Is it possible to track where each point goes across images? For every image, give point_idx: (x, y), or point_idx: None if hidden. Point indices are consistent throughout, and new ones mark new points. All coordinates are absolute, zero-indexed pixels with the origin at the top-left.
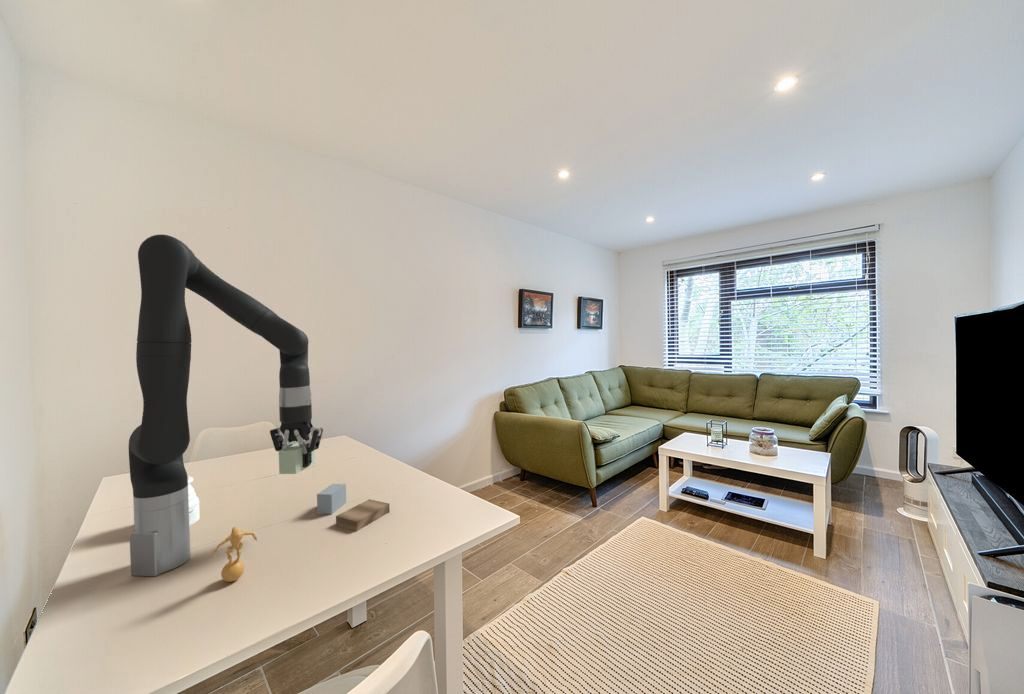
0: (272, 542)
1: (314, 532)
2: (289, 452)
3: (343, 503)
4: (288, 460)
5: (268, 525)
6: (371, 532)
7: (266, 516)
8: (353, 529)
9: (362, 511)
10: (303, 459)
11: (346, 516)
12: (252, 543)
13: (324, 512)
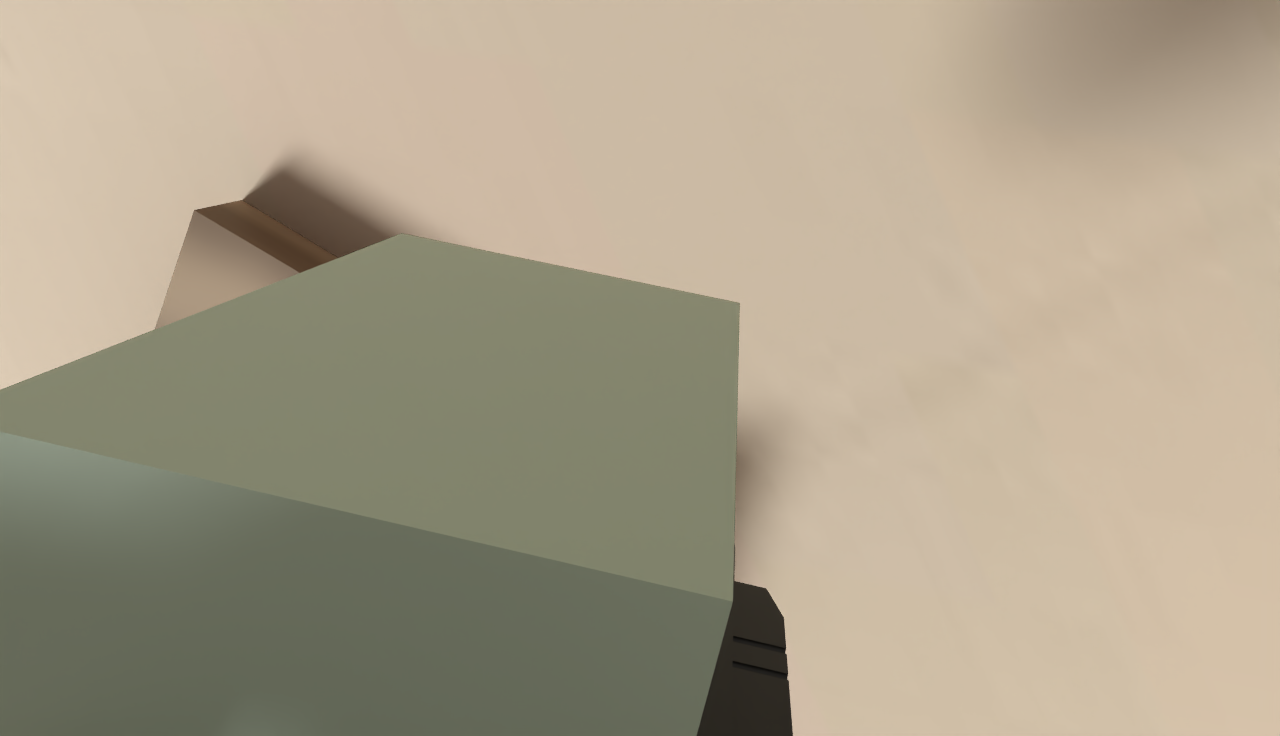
0: (783, 113)
1: (533, 226)
2: (239, 439)
3: None
4: (435, 346)
5: (933, 392)
6: (137, 166)
7: (1011, 538)
8: (271, 220)
9: None
10: None
11: None
12: (937, 118)
13: None
